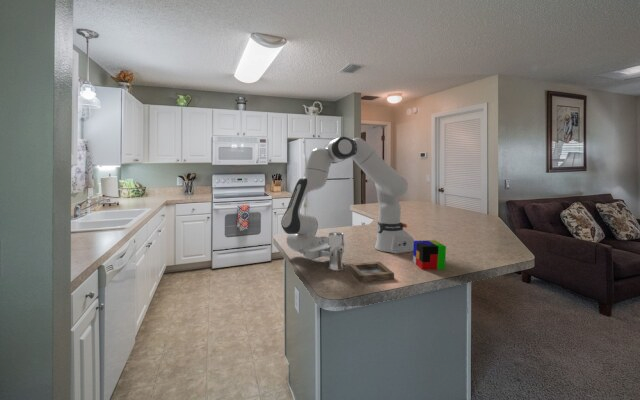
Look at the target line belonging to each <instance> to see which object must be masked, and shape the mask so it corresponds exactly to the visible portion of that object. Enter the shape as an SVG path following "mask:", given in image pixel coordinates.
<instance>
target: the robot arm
mask: <svg viewBox="0 0 640 400" xmlns="http://www.w3.org/2000/svg"><path fill="white" fill-rule="evenodd" d="M347 159H351V160H352V161H354V163H355V164H356V165H357V167H359V168H360V170H361V171H363V173H364V174H365V175H366V176H367V177H368V178H369V179H371V180H372V181H373V182H374V186H375V188H376V197H377V201H378V202H377V203H378V221H377V225H376V227H377V228H376V229H377V237H376V242H375V246H374V249H375V250H377V251H381V252H384V253H392V254H403V253H408V252H409V253H410V252H413V248H414V241H415V239H414V237H413V236H412V235H411V234H410V233H408V231H406V230H405V229H407V227H408V224H407V223H403V222H401V215H402V214H401V213H402V208H401V204H400V202H399V197H401V196H403V195H405V194H406V193H407V191H408V189H409V183H408V180H407V179H406V178H404V177H403V176H402V175H401V174H400V173H399V172H397V170H395V169H394V168H393V167H392V166H391V165H390V164H388V162H386V161H385V160H384V159H383V158H382V157H381V155H379V154H378V152H377V151H376V150H375V149H374V148H373V147H372V146H371V145H370V144H369V143H368V142H367V141H365V140H364V139H363V138H361V137H354V138H353V139H351V138H350V137H346V136H339V137H336V138H334V139H332V140H331V141H329V143H328V144H326V145H325V146H324V148H323V147H322V148H321V147H320V148H319V147H318V148H315V149H312V150H311V151H310V154H309V157H308V159H307V162H306V167H305V170H304V173H303V176H302V177H300V178H299V179H298V180H297V182H296V184H295V187H294V189H293V191H292V194H291V196H290V199H289V202H288V206H287V208H286V210H285V212H284V213H283V215H282V217H281V218H282V219H281V221H280V222H281V223H280V224H281V228H282V229H283V231H284V233H286V234H287V237H286V244H287V246H288V247H289V249H291V250H292V251H295V252H297V253H300V254H303V256H304V258H305V257H306V258H307V259H310V260H315V259H319V258H322V257H328V258H330V257H331V256H333V255H332V254H333V253H332V252H329V250H328V237H329V236H316V235H317V232H318V228H319V227H318V225H319V224H318V223H319V222H318V220H317V218H316V217H315V216H314V215H310V214H303V213H300V212H301V209H302V207H303V206H302V205H303V203H304V200H305V198H306V195H307V194H308V193H310V192H314V191H318V190H321V189H322V188H324V187H325V186H326V184H327V181H328V177H329V171H330V167H331V165H332V164H338V163H341V162H344V161H345V160H347ZM404 228H405V229H404ZM344 253H345V251H344V252H343V254H344Z"/></svg>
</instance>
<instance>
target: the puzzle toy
mask: <svg viewBox="0 0 640 400" xmlns="http://www.w3.org/2000/svg"><path fill="white" fill-rule="evenodd" d="M446 251H447V246H446V245H444V244H443V243H441V242H439V241H438V240H435V239H433V240H427V239H426V240H414V248H413V251H412V252H413V253H412V263H413V262H414V264H415V266H417V267H418V268H419V269H420V270H422V271H424V270H425V271H426V270H428V269H429V270H445V268H446V254H447V253H446Z"/></svg>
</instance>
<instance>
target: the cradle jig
mask: <svg viewBox="0 0 640 400" xmlns="http://www.w3.org/2000/svg"><path fill="white" fill-rule="evenodd" d="M348 270H349V272H350V273H351V274H352V275H353V276H354V277H355V279H356V280H357V281H358V282H359V283H362V282H363V283H364V282H377V281H378V282H379V281H387V280H388V281H391V280H394V279H395V272H393V271H392V270H391V269H390V268H388V267H387V266H385V265H384V264H383V263H382V262H381V261H372V262H371V261H369V262H357V263H354V262H353V263H348Z"/></svg>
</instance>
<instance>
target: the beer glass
mask: <svg viewBox="0 0 640 400" xmlns="http://www.w3.org/2000/svg"><path fill="white" fill-rule="evenodd" d="M327 237H328V250H329V252H332V253H333V254H332V255H333V256H331V257H329V264H328V269H329V270H330V271H332V272H333V271H334V272H339V271H340V272H341V271H343V270H344V266H343V265H344V264H343V256H344V253H345V245H346V244H345V233H344V232H337V231H334V232H329V233H328V236H327ZM343 252H344V253H343Z"/></svg>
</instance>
